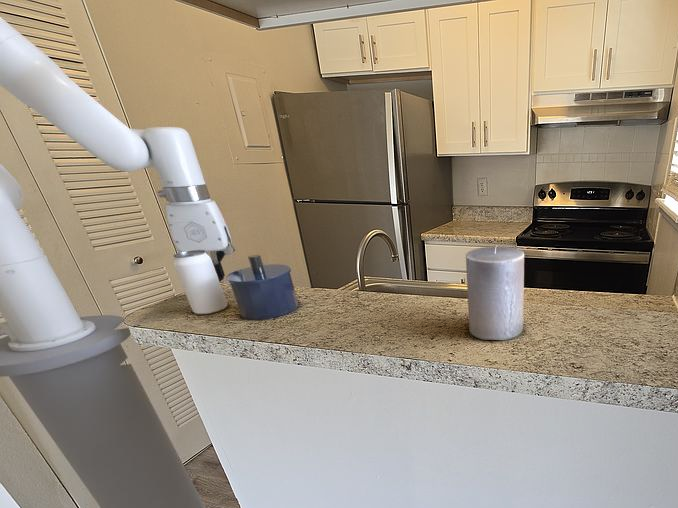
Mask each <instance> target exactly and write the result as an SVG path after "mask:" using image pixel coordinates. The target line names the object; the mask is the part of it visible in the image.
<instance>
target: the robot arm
mask: <svg viewBox="0 0 678 508" xmlns="http://www.w3.org/2000/svg"><path fill="white" fill-rule="evenodd" d="M0 86H1V87H2V88H3V89H4V90H6V91H7V92H8V93H9V94H11V95H12V96H14V97H15V98H16V100H18V101H20V102H21V103H22V104H24V105H26V106H27V107H28V108H30V109H32V110H33V111H34V112H36V113H37V114H38V115H40V116H41V117H43V119H45V120H46V121H47V122H49V123H50V124H51V125H53V126H54V127H55V128H56V129H58V130H59V131H60V132H62V133H63V134H65V135H66V136H67V137H68V138H70V139H71V140H73V141H74V143H76V144H78V145H79V146H80V147H82V148H83V149H84V150H85V151H87V152H88V153H90V154H91V155H92V156H94V157H95V158H97V159H98V160H99V161H100V162H102V163H104V164H105V165H106V166H108V167H109V168H112V169H114V170H116V171H120V172H125V173H132V172H133V173H134V172H137V171H139V170H143V169H149V168H155V171H156V173H157V175H158V178H159V181H160V183H161V186H162V187H161V190H157V195H158V197H159V198H164V199H166V202H168V203H165V204H164V211H165V216H166V217H165V218H166V221H167V225H168V229H169V232H170V236H171V239H172V242H173V245H174V248H175V250H176V251H177V252H178V253H180V252H185V251H191V250H205V251H206V254H207V255H208V256H210V258H211V260H212V263H213V265H214V268H215V271H216V274H217V276H218V279H219V282H220V283H221V282H222V281H223V280H224V279H225V277H226V275H225V271H224V268H223V265H222V263H221V262H222V261H223V259H224V258H225V256H229V255H231V254H234V253H235V252H236V249H235V247H234V246H233V244H232V243H233V240H232V236H231V234H230V230H229V228H228V225H227V223H226V220H225V218H224V216H223V214H222V212H221V210H220V208H219V206H218V204H217V202H216V201H215V199H214V200H213V199H211V195H210V193H209V190H208V186H207V184H206V180H205V177H204V175H203V171H202V168H201V166H200V162H199V160H198V157H197V154H196V150H195V147H194V144H193V141H192V138H191V135H190V133H189V132H188V131H187V130H186V129H185V128H183V127H180V126H179V127H178V126H152V127H146V128H145V129H142V128H141V129H140V128H130V127H128V126H127V125H126V124H124V123H123V122H122V121H121V120H120V119H118V118H117V116H115V115H114V114H112V113H111V112H110V111H109V110H108V109H107V108H106V107H104V106H103V105H102V104H101V103H99V101H97V100H96V99H94V98H93V97H92V96H91V95H90V94H88V93H87V92H86V91H85V90H84V89H83V88H81V86H79V85H78V84H77V83H76V82H75V81H74V80H73V79H71V78H70V77H69V76H68V75H67V74H66V73H65V72H64V71H63V69H61V67H60V66H59V65H58V64H57V63H56V62H55V61H54V60H53V59H51V58H50V57H49V56H48V55H47V54H46V53H45V52H43V50H41V49H40V48H39V47H37V46H36V45H35V44H34V43H32V41H30V40H29V39H28V38H26V37H25V36H24V35H23V34H22V33H20V32H19V31H18V30H17V29H15V27H13V26H12V25H11V24H10V23H8V22H7V21H6V20H5V19H4V18H2V17H1V16H0ZM23 203H24V191H23V190H22V187H21V185H20V184H19V182H18V181H17V180H16V178H15V177H14V176H13V175H12V174H11V173H10V172H9V171H8V170H7V169H6V168H5V166H4V165H2V163H0V314H1V316H2V318H3V319H4V322H0V337H1V336H9V338H10V339H11V340H10V341H9V343H8V345H9V347H10V349H11V350H13V351H17V352H30V351H38V350H44V349H49V348H54V347H58V346H61V345H65V344H68V343H71V342H74V341H77V340H79V339H82V338H84V337H86V336H88V335H90V334H91V333H92V332H94V331H95V329H96V326H95V325H94V323H93V322H91V321H84V320H81V319H80V317H81V316H80V315H79V314H78V312H77V311H76V308H75V307H74V305H73V303H72V301H71V299H70V298H69V296H68V294H67V292H66V290H65V289H64V287H63V285H62V283H61V281H60V280H59V277H58V276H57V274H56V273H55V271H54V269H53V267H52V265H51V264H50V263H51V262H50V261H49V260H48V258H47V256H46V255H45V253H44V251H43V249H42V248H41V246H40V244H39V242H38V240H37V239H36V237H35V236H34V234H33V233H32V231H31V229H30V228H29V226H28V225H27V223H26V222H25V221H24V219H23V218H22V216H21V215H20V213H19V210H20V209H21V207H22V206H23ZM208 253H209V254H210V255H209V254H208Z"/></svg>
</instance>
